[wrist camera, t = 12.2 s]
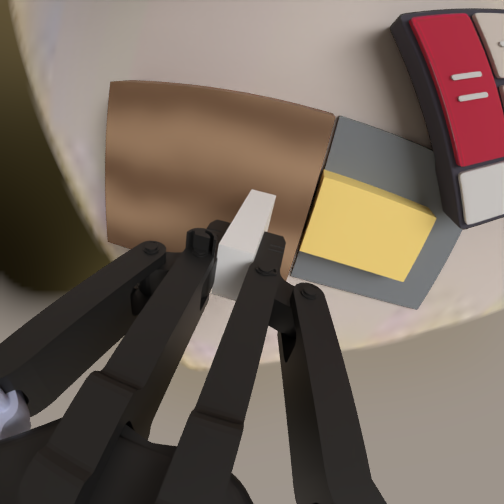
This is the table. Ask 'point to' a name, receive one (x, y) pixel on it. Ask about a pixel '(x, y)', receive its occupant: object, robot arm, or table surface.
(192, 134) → the brown wooden slab
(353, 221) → the butter yellow block
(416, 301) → the mat
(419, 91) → the calculator
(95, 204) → the table surface
